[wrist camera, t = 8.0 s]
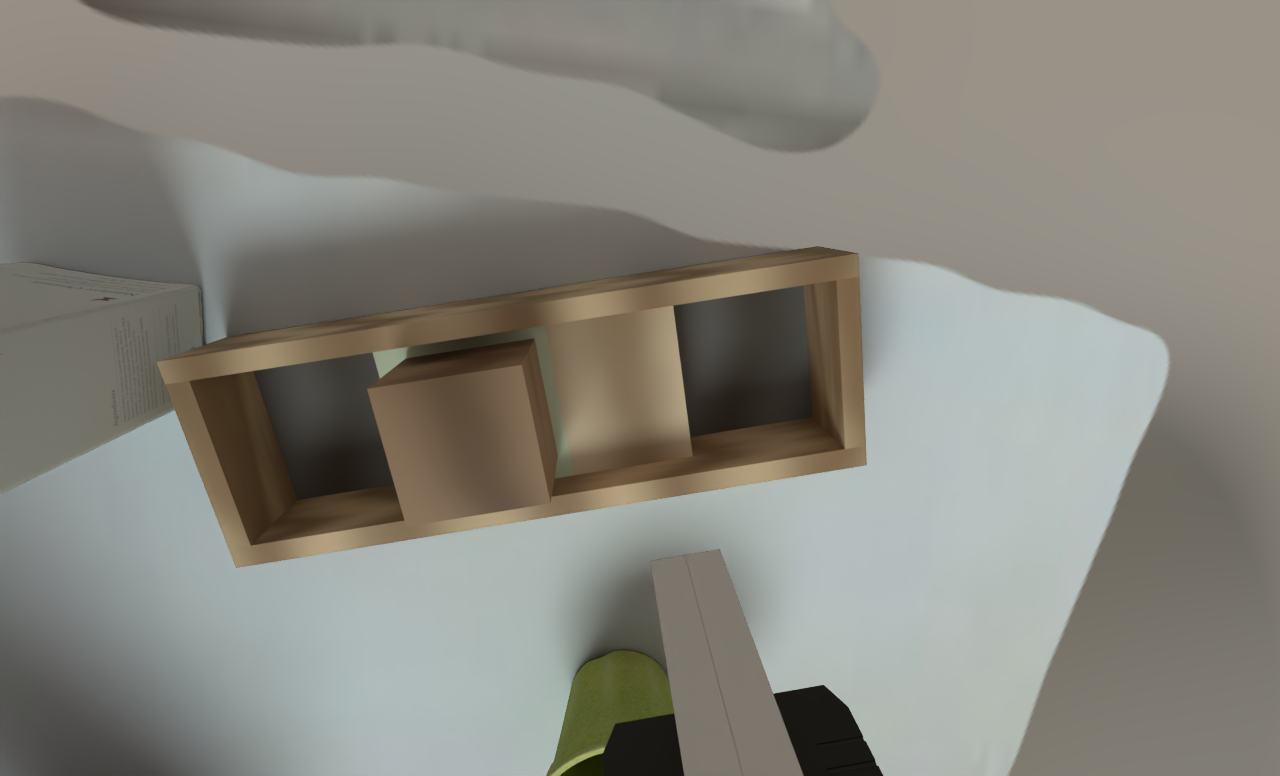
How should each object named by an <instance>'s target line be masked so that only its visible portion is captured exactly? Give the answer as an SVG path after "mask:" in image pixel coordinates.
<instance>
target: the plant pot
mask: <svg viewBox="0 0 1280 776" xmlns="http://www.w3.org/2000/svg"><path fill="white" fill-rule="evenodd" d="M673 713H674V708H673V701H672V695H671V689H670V683H669V680H668V678H667V676H666V674H665V673H664V671H663V670H662V668H661V667H660V665H659V664H658V663H657V662H656V661H654V660H653V659H652V658H650V657H648V656H646V655H644V654H642V653H638V652H634V651H627V650H618V651H612V652H610V653H608V654H607V655H605V656H603V657H600V658H598V659H595V660H591V661H589V662H587V663H586V664H585V665H584V666H583V667H582V668H581V669H580V670H579V672H578V673H577V675H576V676H575V678H574V681H573V683H572V687H571V691H570V696H569V700H568V704H567V709H566V713H565V718H564V722H563V726H562V731H561V735H560V739H559V743H558V747H557V751H556V755H555V759H554V762H553V763H552V765H551V767H550V768H549V770H548V773H547V776H604V765H603V752H604V750H605V747H606V745H607V742H608V740H609V737H610V735H611V733H612V730H613V728H614V725H615V724H616V723H622V722H627V721H633V720H639V719H644V718H650V717H656V716H661V715H667V714H673Z"/></svg>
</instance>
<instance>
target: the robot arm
mask: <svg viewBox="0 0 1280 776" xmlns="http://www.w3.org/2000/svg"><path fill="white" fill-rule="evenodd" d="M650 564H651V570H652V576H653V583H654V589H655V595H656V601H657V608H658V614H659V620H660V626H661V633H662V639H663V645H664V651H665V658H666V664H667V670H668V676H669V683H670V689H671V695H672V701H673V708H674V713H673V714H667V715H661V716H656V717H650V718H644V719H639V720H633V721H627V722H622V723H616V724H615V725H614V728H613V730H612V733H611V735H610V737H609V740H608V742H607V745H606V747H605V750H604V752H603V765H604V776H883V774H882V772H881V770H880V768H879V766H877V765H876V762H875V759H874V757H873V755H872V753H871V751H870V749H869V747H868V745H867V743H866V741H864V739H863V735H862V733H861V731H860V729H859V727H858V725H857V723H856V722H855V720H854V718H853V716H852V714H851V712H850V710H849V708H848V706H846V705H845V704H844V703H843V702H842V701H841V700H840V699H839V698H837V697H836V696H835V695H834V694H833V693H832V692H831V691H830V690H829V689H827V688H826V687H825V686H824V685H821V686H815V687H809V688H804V689H798V690H792V691H787V692H781V693H775V694H773V692H772V689H771V687H770V684H769V681H768V679H767V676H766V673H765V670H764V668H763V665H762V662H761V660H760V657H759V654H758V652H757V649H756V646H755V643H754V641H753V638H752V635H751V633H750V630H749V627H748V625H747V622H746V619H745V616H744V614H743V611H742V608H741V606H740V603H739V600H738V598H737V595H736V592H735V589H734V587H733V584H732V581H731V579H730V576H729V573H728V571H727V568H726V565H725V562H724V560H723V557H722V554H721V552H720V549H719V550H713V551H707V552H701V553H695V554H689V555H683V556H677V557H671V558H665V559H659V560H653V561H650Z"/></svg>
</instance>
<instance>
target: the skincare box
mask: <svg viewBox="0 0 1280 776" xmlns="http://www.w3.org/2000/svg"><path fill="white" fill-rule="evenodd" d="M202 338H203V325H202V304H201V289H200V288H199V287H198V286H197V285H191V284H182V283H162V282H152V281H143V280H134V279H125V278H118V277H111V276H104V275H97V274H91V273H85V272H79V271H73V270H67V269H61V268H55V267H51V266H46V265H41V264H34V263H24V262H20V263H11V264H1V265H0V494H2V493H4V492H6V491H8V490H10V489H13V488H15V487H17V486H19V485H21V484H23V483H25V482H27V481H29V480H31V479H33V478H35V477H37V476H39V475H42V474H44V473H46V472H48V471H50V470H52V469H54V468H56V467H58V466H60V465H62V464H64V463H66V462H68V461H70V460H72V459H74V458H76V457H78V456H80V455H82V454H85V453H87V452H89V451H91V450H93V449H95V448H97V447H99V446H101V445H103V444H105V443H107V442H109V441H112V440H114V439H116V438H118V437H120V436H122V435H124V434H126V433H128V432H130V431H132V430H134V429H136V428H138V427H140V426H142V425H144V424H146V423H148V422H151V421H153V420H155V419H157V418H159V417H161V416H163V415H165V414H167V413H169V412H171V411H173V410H175V408H174V406H173V403H172V401H171V398H170V396H169V393H168V390H167V388H166V385H165V383H164V380H163V377H162V375H161V372H160V370H159V367H158V365H157V362H158V361H161V360H163V359H166V358H169V357H172V356H175V355H178V354H181V353H183V352H186V351H189V350H192V349H195V348H198V347H201V346H203V339H202Z"/></svg>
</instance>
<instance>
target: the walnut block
mask: <svg viewBox="0 0 1280 776" xmlns="http://www.w3.org/2000/svg"><path fill="white" fill-rule="evenodd" d="M367 391H368V394H369V398H370V401H371V405H372V408H373V412H374V415H375V419H376V422H377V426H378V429H379V433H380V436H381V440H382V443H383V447H384V450H385V454H386V457H387V461H388V464H389V468H390V471H391V475H392V478H393V482H394V485H395V489H396V492H397V496H398V499H399V503H400V506H401V510H402V513H403V517H404V520H405V524H406V527H408V526H414V525H420V524H426V523H432V522H439V521H445V520H451V519H457V518H463V517H470V516H476V515H482V514H488V513H494V512H501V511H507V510H513V509H519V508H525V507H532V506H538V505H544V504H550V503H551V497H552V491H553V485H554V478H555V472H556V465H557V459H558V455H557V450H556V445H555V439H554V434H553V429H552V424H551V419H550V414H549V409H548V404H547V399H546V394H545V389H544V384H543V379H542V374H541V369H540V363H539V358H538V353H537V348H536V343H535V338H534V339H528V340H521V341H515V342H508V343H502V344H495V345H489V346H482V347H476V348H470V349H463V350H457V351H450V352H444V353H437V354H431V355H424V356H418V357H411V358H406V359H404V360H403V361H402V362H401V363H399V364H398V365H397V366H395V367H394V368H393V369H392V370H390V371H389V372H388V373H387V374H385V375H384V376H383V377H382V378H380V379H379V380H378V381H376V382H375V383H374V384H373V385H371V386H370V387H369V388H368V389H367Z"/></svg>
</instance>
